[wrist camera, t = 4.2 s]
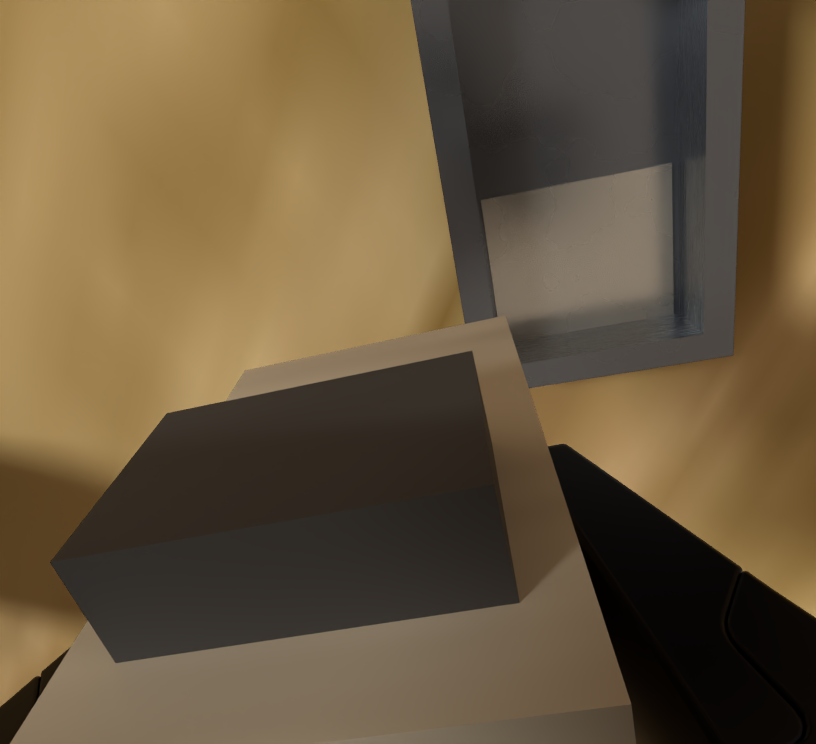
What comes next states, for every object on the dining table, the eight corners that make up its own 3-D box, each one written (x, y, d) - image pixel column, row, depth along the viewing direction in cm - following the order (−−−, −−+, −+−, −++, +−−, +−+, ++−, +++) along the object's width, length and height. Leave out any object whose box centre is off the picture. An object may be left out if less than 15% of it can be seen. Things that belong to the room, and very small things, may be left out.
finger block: (544, 528, 10) (669, 1019, 5) (322, 565, 11) (217, 1044, 5) (493, 247, 8) (614, 567, 3) (221, 310, 9) (-109, 680, 3)
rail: (693, 320, 19) (823, 433, 13) (470, 357, 20) (490, 481, 14) (695, -381, 13) (960, -845, 6) (363, -285, 14) (306, -612, 7)
